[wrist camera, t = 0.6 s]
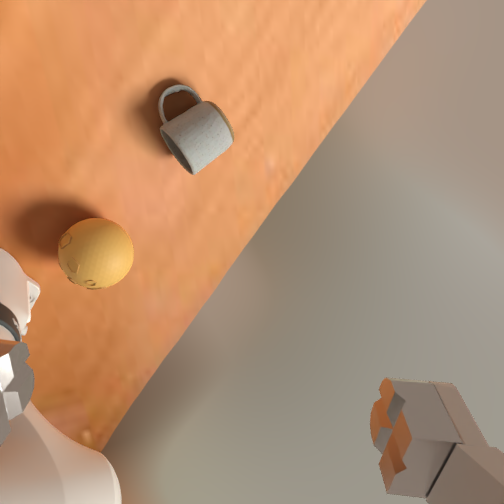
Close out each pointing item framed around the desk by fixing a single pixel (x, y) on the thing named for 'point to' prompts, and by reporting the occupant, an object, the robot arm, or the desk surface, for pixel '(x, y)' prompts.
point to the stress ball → (95, 253)
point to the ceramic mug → (195, 132)
